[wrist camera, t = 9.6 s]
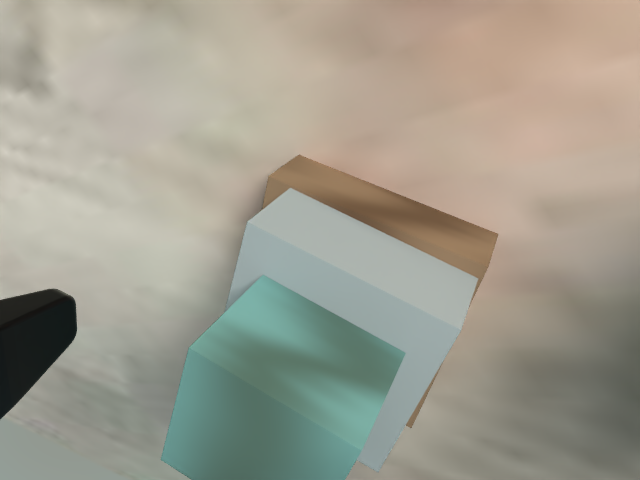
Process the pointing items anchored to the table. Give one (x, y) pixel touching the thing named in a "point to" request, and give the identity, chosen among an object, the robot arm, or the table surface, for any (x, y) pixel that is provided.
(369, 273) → the slate-grey top block
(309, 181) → the walnut base block
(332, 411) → the teal cube
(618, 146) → the table surface
